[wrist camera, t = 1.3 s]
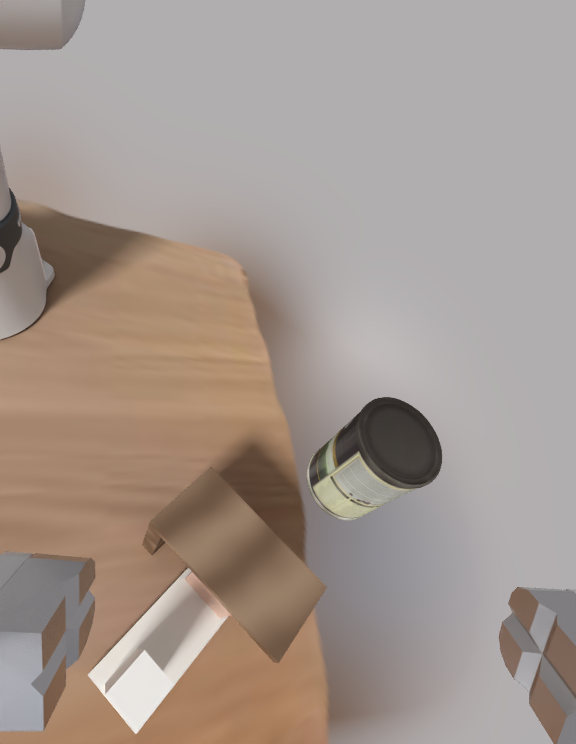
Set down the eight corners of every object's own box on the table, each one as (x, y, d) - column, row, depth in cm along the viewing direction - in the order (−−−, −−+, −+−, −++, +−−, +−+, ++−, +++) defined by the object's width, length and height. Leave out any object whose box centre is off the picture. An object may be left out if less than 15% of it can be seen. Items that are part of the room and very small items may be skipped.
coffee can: (295, 452, 53) (344, 402, 42) (356, 440, 57) (415, 392, 47) (322, 530, 48) (385, 497, 37) (386, 510, 53) (459, 475, 42)
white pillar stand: (88, 674, 33) (82, 683, 25) (233, 518, 45) (264, 488, 36) (134, 731, 32) (145, 762, 24) (271, 558, 44) (311, 536, 35)
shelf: (142, 544, 40) (150, 521, 33) (193, 496, 45) (211, 466, 37) (244, 659, 38) (278, 662, 31) (288, 597, 42) (326, 587, 35)
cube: (184, 579, 39) (193, 571, 35) (220, 540, 42) (232, 529, 38) (219, 618, 38) (232, 615, 34) (253, 575, 41) (268, 568, 37)
